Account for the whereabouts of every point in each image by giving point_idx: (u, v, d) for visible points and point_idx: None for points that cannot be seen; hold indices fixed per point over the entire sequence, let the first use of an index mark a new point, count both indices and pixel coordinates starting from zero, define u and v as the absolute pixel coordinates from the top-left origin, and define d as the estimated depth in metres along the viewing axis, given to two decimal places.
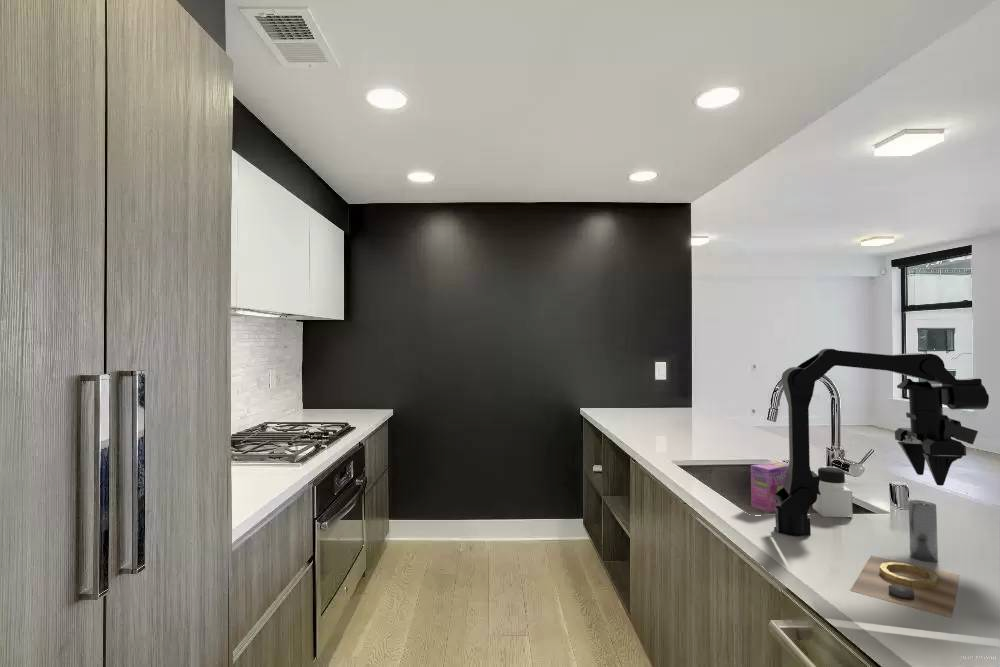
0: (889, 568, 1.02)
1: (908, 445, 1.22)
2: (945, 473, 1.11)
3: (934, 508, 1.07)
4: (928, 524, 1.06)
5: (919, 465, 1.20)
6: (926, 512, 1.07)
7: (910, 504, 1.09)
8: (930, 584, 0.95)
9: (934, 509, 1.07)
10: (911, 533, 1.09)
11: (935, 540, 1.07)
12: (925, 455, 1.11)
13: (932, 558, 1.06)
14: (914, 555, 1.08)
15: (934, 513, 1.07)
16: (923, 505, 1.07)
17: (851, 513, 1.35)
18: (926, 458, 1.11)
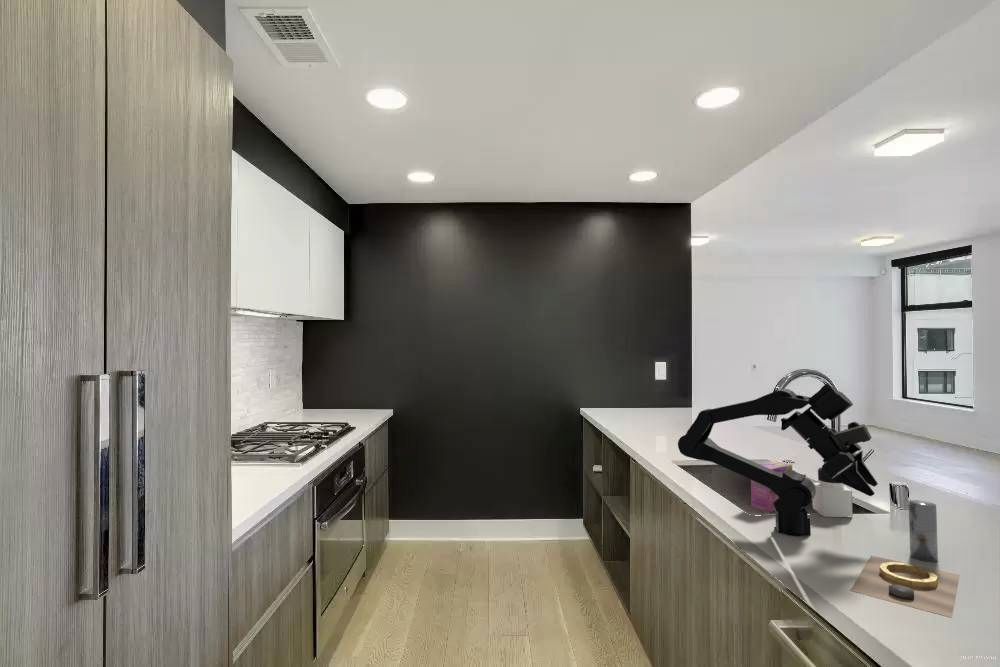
0: (889, 568, 1.02)
1: None
2: (864, 483, 1.11)
3: (934, 508, 1.07)
4: (928, 524, 1.06)
5: (867, 477, 1.19)
6: (926, 512, 1.07)
7: (910, 504, 1.09)
8: (930, 584, 0.95)
9: (934, 509, 1.07)
10: (911, 533, 1.09)
11: (935, 540, 1.07)
12: None
13: (932, 558, 1.06)
14: (914, 555, 1.08)
15: (934, 513, 1.07)
16: (923, 505, 1.07)
17: (851, 513, 1.35)
18: None
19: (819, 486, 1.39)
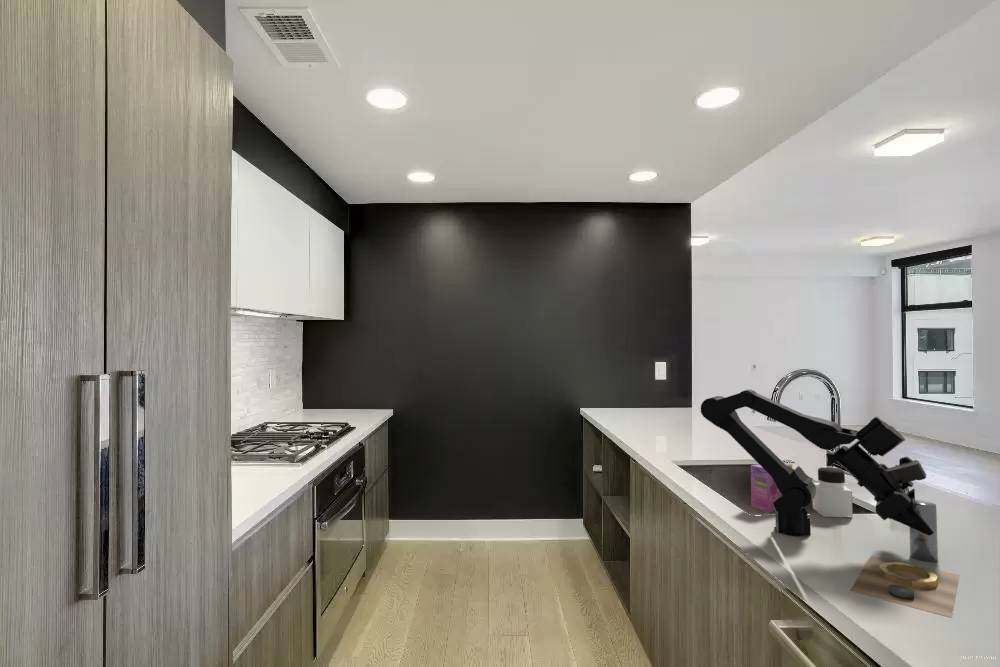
0: (889, 568, 1.02)
1: None
2: (922, 521, 1.06)
3: (934, 508, 1.07)
4: (928, 524, 1.06)
5: None
6: (926, 512, 1.07)
7: None
8: (930, 584, 0.95)
9: (934, 509, 1.07)
10: (911, 533, 1.09)
11: (935, 540, 1.07)
12: None
13: (932, 558, 1.06)
14: (914, 555, 1.08)
15: (934, 513, 1.07)
16: (923, 505, 1.07)
17: (851, 513, 1.35)
18: None
19: (819, 486, 1.39)
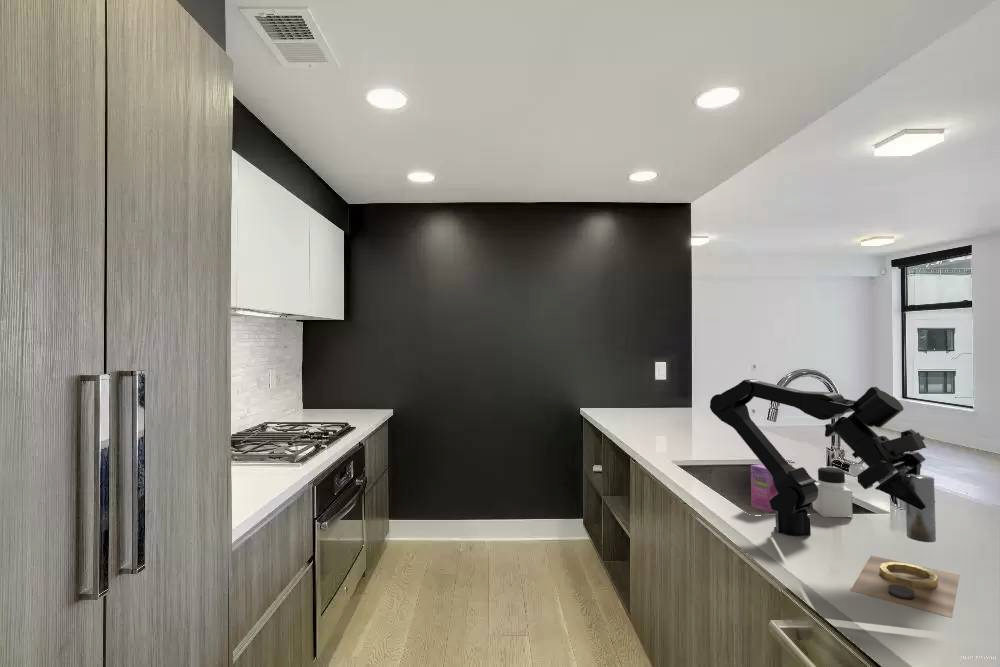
0: (889, 568, 1.02)
1: None
2: (913, 494, 1.01)
3: (929, 482, 1.01)
4: (921, 498, 1.01)
5: None
6: (919, 485, 1.02)
7: (905, 477, 1.04)
8: (930, 584, 0.95)
9: (929, 483, 1.01)
10: (906, 507, 1.04)
11: (930, 515, 1.01)
12: None
13: (926, 534, 1.01)
14: (908, 530, 1.03)
15: (929, 487, 1.01)
16: (917, 478, 1.02)
17: (851, 513, 1.35)
18: None
19: (819, 486, 1.39)
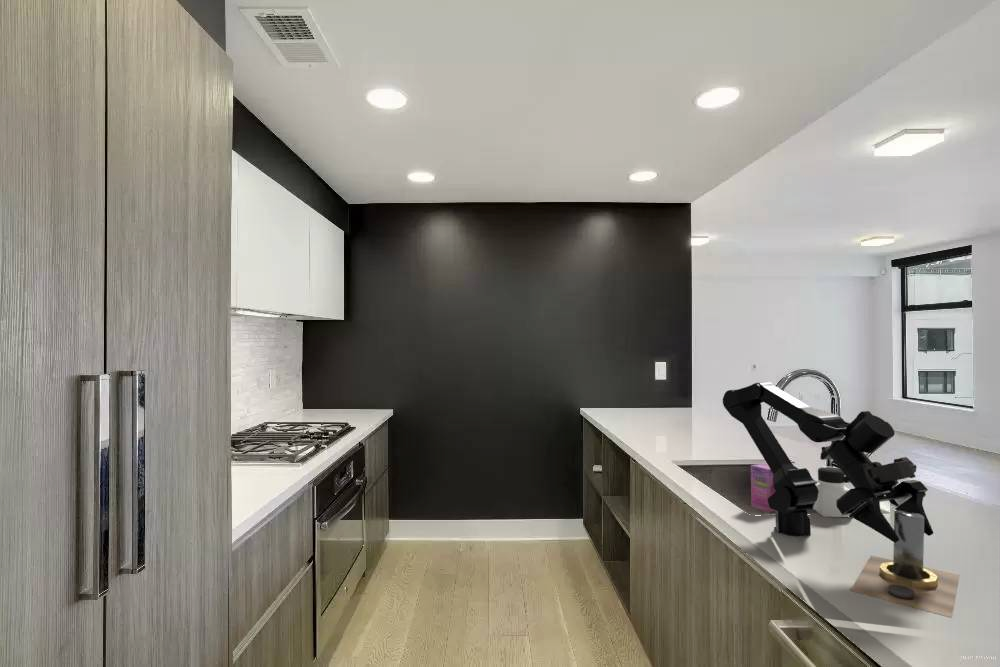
0: (889, 568, 1.02)
1: (900, 507, 1.06)
2: (886, 526, 0.98)
3: (916, 520, 0.97)
4: (906, 536, 0.98)
5: None
6: (904, 523, 0.98)
7: (894, 513, 1.01)
8: (930, 584, 0.95)
9: (916, 521, 0.97)
10: None
11: (915, 555, 0.97)
12: None
13: (909, 573, 0.98)
14: (893, 568, 1.00)
15: (915, 526, 0.97)
16: (904, 515, 0.99)
17: None
18: None
19: (819, 486, 1.39)
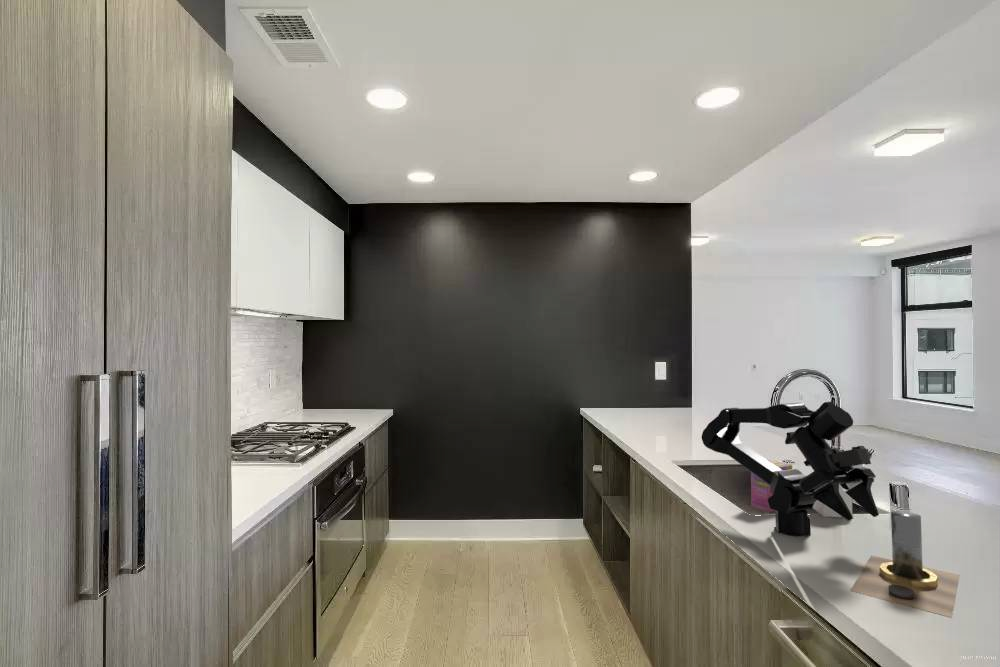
0: (889, 568, 1.02)
1: (850, 490, 1.16)
2: (842, 505, 1.07)
3: (912, 520, 0.97)
4: (904, 537, 0.98)
5: (869, 506, 1.12)
6: (901, 523, 0.98)
7: (891, 513, 1.01)
8: (930, 584, 0.95)
9: (912, 522, 0.97)
10: (892, 545, 1.01)
11: (914, 555, 0.97)
12: None
13: (908, 574, 0.98)
14: (893, 568, 1.00)
15: (912, 526, 0.97)
16: (901, 516, 0.99)
17: (851, 513, 1.35)
18: None
19: None
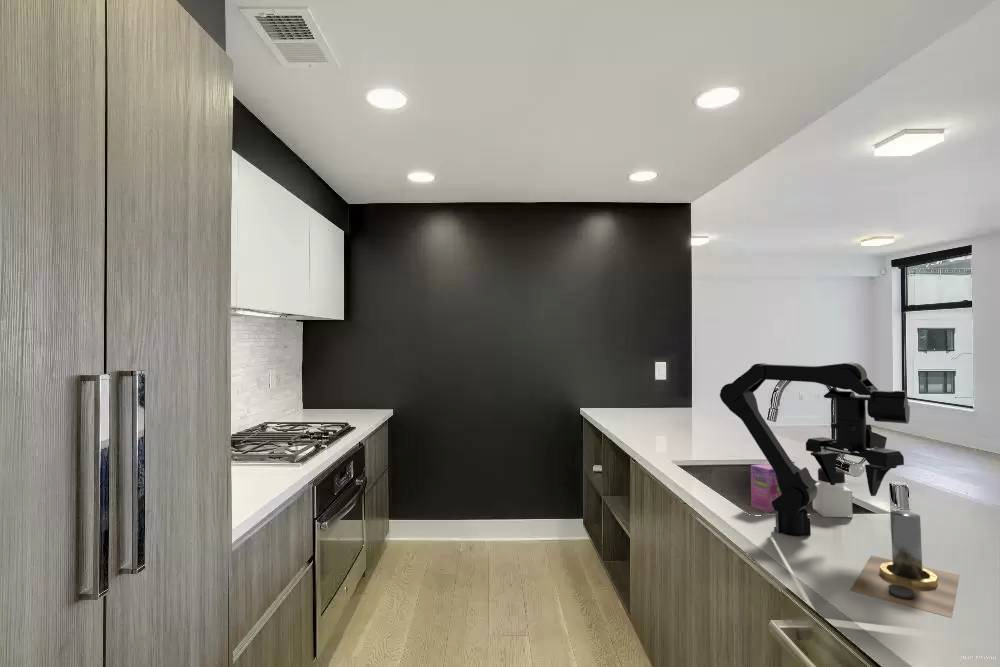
0: (889, 568, 1.02)
1: (824, 456, 1.20)
2: (879, 483, 1.11)
3: (912, 520, 0.97)
4: (903, 537, 0.98)
5: (833, 475, 1.20)
6: (901, 523, 0.98)
7: (890, 513, 1.01)
8: (930, 584, 0.95)
9: (912, 521, 0.97)
10: (892, 545, 1.01)
11: (913, 555, 0.97)
12: (869, 467, 1.09)
13: (908, 574, 0.98)
14: (893, 568, 1.00)
15: (911, 526, 0.97)
16: (900, 516, 0.99)
17: (851, 513, 1.35)
18: (869, 470, 1.09)
19: (819, 486, 1.39)
